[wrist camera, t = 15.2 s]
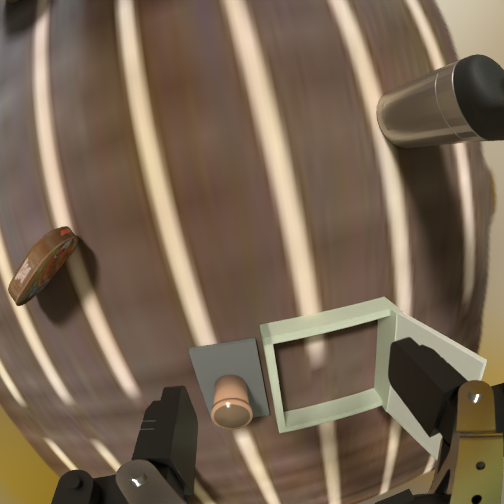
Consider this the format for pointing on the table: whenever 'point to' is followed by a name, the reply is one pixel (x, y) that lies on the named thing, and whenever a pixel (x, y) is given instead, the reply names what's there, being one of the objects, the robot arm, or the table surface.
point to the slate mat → (231, 370)
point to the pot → (231, 403)
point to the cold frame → (388, 330)
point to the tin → (42, 264)
